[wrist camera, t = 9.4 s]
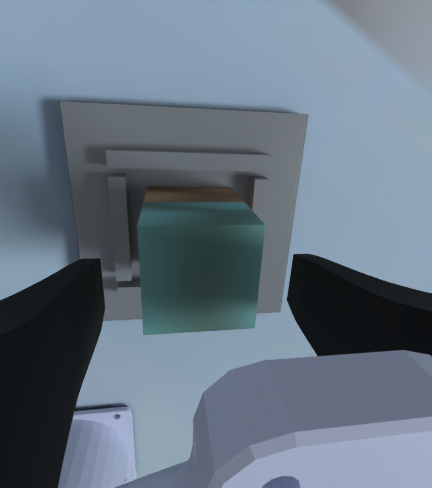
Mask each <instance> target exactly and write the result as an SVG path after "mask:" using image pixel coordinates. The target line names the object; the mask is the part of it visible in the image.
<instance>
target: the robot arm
mask: <svg viewBox="0 0 432 488" xmlns="http://www.w3.org/2000/svg"><path fill="white" fill-rule="evenodd" d="M287 301H288V304H289V306H290V309H291V311H292V314H293V316H294V318H295V320H296V322H297V324H298V325H299V327H300V329H301V330H302V332H303V334H304V335H305V337H306V338H307V340H308V342H309V343H310V345H311V346H312V348H313V349H314V351H315V353H316V354H317V357H304V358H290V359H277V360H265V361H260V362H257V363H253V364H250V365H246V366H243V367H240V368H236V369H233V370H230V371H229V372H227V373H226V374H225V375H224V376H223V377H221V378H220V379H219V380H218V381H217V382H215V383H214V384H213V385H212V386H210V387H209V388H208V389H207V390H206V391H204V392H203V395H202V397H201V400H200V403H199V405H198V408H197V410H196V413H195V416H194V418H193V446H192V451H191V456H190V458H189V460H187V461H185V462H183V463H180V464H177V465H174V466H172V467H169V468H166V469H163V470H161V471H158V472H155V473H153V474H150V475H147V476H144V477H142V478H139V479H136V461H135V448H134V435H133V422H132V411H131V409H130V408H128V407H116V408H105V409H94V410H83V411H75V407H76V403H77V399H78V395H79V392H80V389H81V386H82V383H83V380H84V377H85V374H86V372H87V369H88V366H89V363H90V360H91V358H92V355H93V352H94V349H95V346H96V344H97V341H98V338H99V335H100V332H101V328H102V323H103V318H104V313H105V299H104V289H103V279H102V270H101V260H100V258H84V259H80V260H77V261H75V262H73V263H72V264H70V265H68V266H66V267H65V268H63V269H61V270H59V271H58V272H56V273H54V274H52V275H51V276H49V277H47V278H45V279H43V280H41V281H40V282H38V283H36V284H34V285H32V286H30V287H28V288H26V289H24V290H22V291H20V292H18V293H16V294H14V295H12V296H9V297H7V298H5V299H2V300H0V488H432V293H428V292H423V291H419V290H415V289H411V288H407V287H404V286H400V285H397V284H393V283H390V282H387V281H383V280H380V279H378V278H375V277H372V276H369V275H366V274H363V273H361V272H358V271H355V270H353V269H350V268H348V267H345V266H343V265H340V264H338V263H335V262H332V261H330V260H327V259H325V258H322V257H319V256H315V255H311V254H294V255H293V262H292V269H291V276H290V282H289V289H288V296H287ZM117 414H118V415H117Z"/></svg>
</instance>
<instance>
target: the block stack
mask: <svg viewBox="0 0 432 488" xmlns="http://www.w3.org/2000/svg"><path fill="white" fill-rule="evenodd" d="M137 233H138V250H139V268H140V285H141V302H142V320H143V335H151V334H167V333H183V332H200V331H216V330H233V329H249V328H255V320H256V311H257V301H258V291H259V281H260V272H261V262H262V252H263V243H264V233H265V224H264V223H263V222H262V221H261V220H260V218H259V217H258V216H257V215H256V214H255V213H254V212H253V211H252V210H251V209H250V208H249V206H248V205H247V204H246V203H245V202H244V201H243V200H242V199H241V198H240V197H239V196H238V195H237V193H236V192H235V191H234V190H233V189H232V188H231V187H147V191H146V194H145V198H144V202H143V206H142V209H141V213H140V217H139V221H138V224H137Z"/></svg>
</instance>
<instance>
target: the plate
mask: <svg viewBox="0 0 432 488" xmlns="http://www.w3.org/2000/svg"><path fill="white" fill-rule="evenodd" d="M60 107H61V115H62V123H63V131H64V139H65V146H66V154H67V162H68V170H69V177H70V185H71V193H72V201H73V208H74V216H75V224H76V232H77V240H78V247H79V255H80V259H84V258H100V260H101V270H102V279H103V289H104V299H105V313H104V318H103V321H109V320H130V319H142V302H141V285H140V268H139V250H138V233H137V224H138V221H139V217H140V213H141V209H142V206H143V202H144V198H145V194H146V191H147V187H231V188H232V189H233V190H234V191H235V192H236V193H237V195H238V196H239V197H240V198H241V199H242V200H243V201H244V202H245V203H246V204H247V205H248V206H249V208H250V209H251V210H252V211H253V212H254V213H255V214H256V215H257V216H258V217H259V218H260V220H261V221H262V222H263V223H264V224H265V233H264V243H263V252H262V262H261V272H260V281H259V291H258V301H257V311H256V313H273V312H280V310H281V303H282V296H283V289H284V282H285V275H286V268H287V261H288V254H289V247H290V240H291V233H292V226H293V219H294V212H295V205H296V198H297V191H298V184H299V177H300V170H301V163H302V156H303V149H304V142H305V135H306V128H307V121H308V114H294V113H275V112H256V111H237V110H218V109H200V108H181V107H162V106H143V105H124V104H105V103H87V102H68V101H60Z"/></svg>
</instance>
